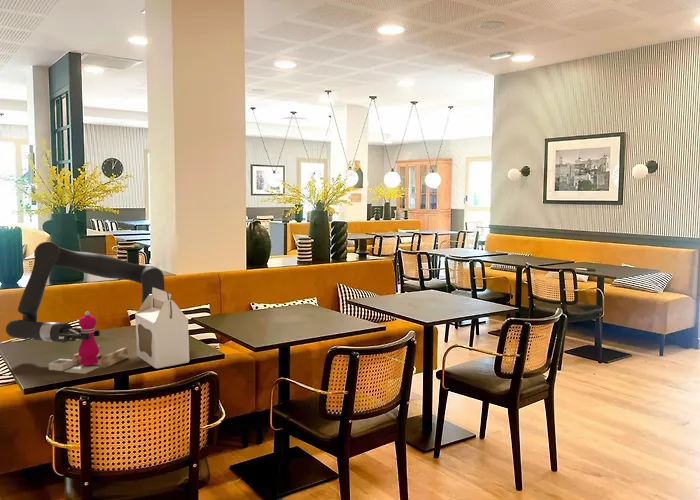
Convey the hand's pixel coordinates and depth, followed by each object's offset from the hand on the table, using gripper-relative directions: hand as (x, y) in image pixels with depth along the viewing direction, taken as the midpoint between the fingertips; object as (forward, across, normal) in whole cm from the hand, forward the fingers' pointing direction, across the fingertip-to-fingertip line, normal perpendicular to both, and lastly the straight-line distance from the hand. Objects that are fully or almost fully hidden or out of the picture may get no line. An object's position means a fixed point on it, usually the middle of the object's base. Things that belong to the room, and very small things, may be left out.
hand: (94, 335), depth 218 cm
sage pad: (-2, -5, +12) cm, 13 cm away
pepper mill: (-3, 0, +11) cm, 11 cm away
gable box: (+20, +14, +12) cm, 27 cm away
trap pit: (-11, -5, +12) cm, 17 cm away
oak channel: (-2, +6, +12) cm, 14 cm away
